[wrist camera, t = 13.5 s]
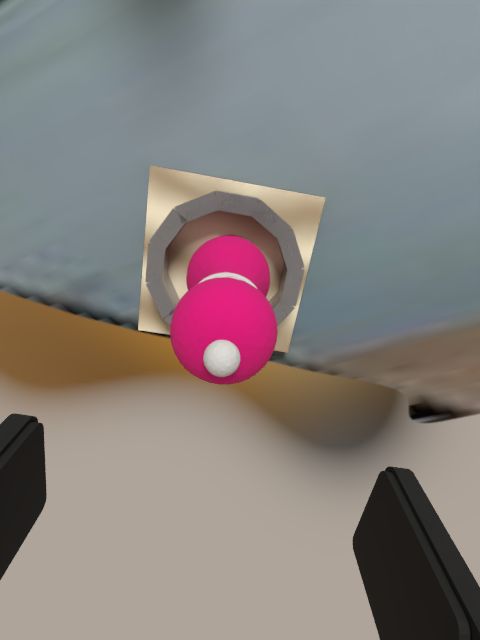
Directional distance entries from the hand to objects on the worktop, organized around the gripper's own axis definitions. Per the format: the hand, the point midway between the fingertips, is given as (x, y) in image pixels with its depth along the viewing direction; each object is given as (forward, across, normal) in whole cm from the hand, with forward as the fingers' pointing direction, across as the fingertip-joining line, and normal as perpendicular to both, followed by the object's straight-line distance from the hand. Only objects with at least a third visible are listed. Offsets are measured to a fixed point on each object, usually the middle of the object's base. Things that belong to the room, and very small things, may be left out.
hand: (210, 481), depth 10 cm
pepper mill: (+27, 0, 0) cm, 27 cm away
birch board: (+28, +1, 0) cm, 28 cm away
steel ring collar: (+27, +1, 0) cm, 27 cm away
